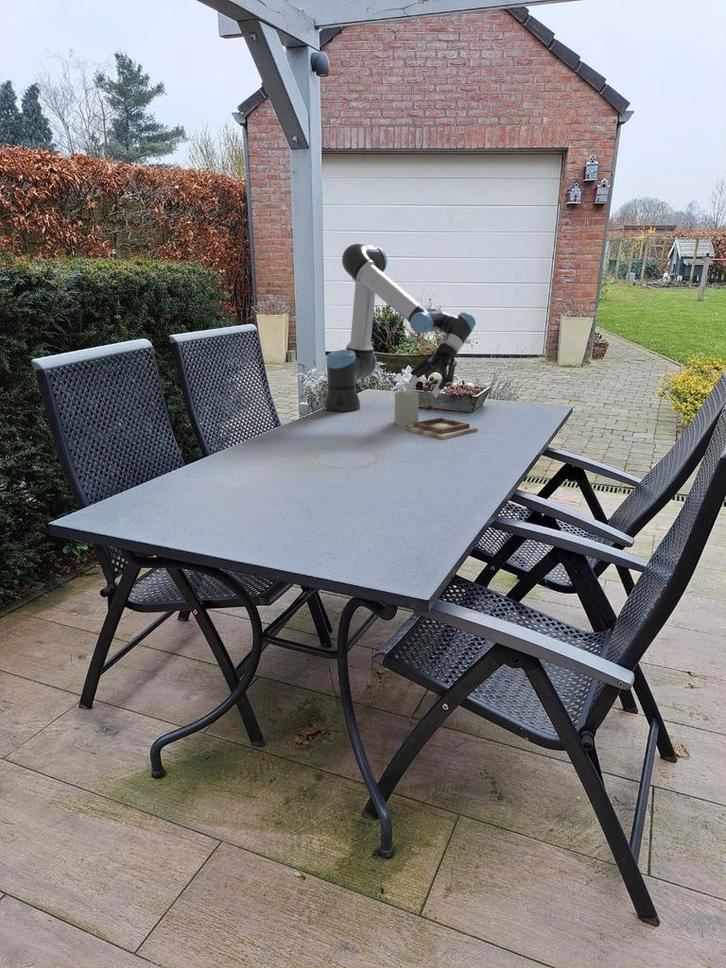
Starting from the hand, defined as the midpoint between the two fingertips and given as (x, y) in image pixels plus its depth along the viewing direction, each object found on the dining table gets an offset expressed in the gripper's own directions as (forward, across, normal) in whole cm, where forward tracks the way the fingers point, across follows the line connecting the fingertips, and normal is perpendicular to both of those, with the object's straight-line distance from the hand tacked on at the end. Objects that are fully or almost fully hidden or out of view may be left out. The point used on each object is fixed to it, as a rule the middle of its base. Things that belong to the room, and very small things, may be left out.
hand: (420, 393), depth 239 cm
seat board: (+11, -16, -4) cm, 20 cm away
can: (+12, +1, -4) cm, 13 cm away
